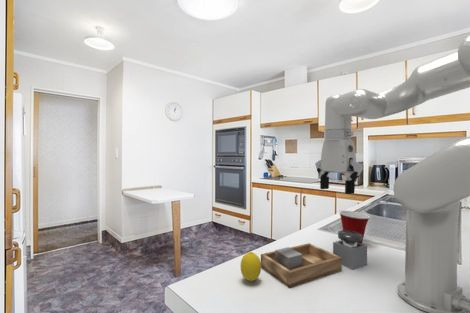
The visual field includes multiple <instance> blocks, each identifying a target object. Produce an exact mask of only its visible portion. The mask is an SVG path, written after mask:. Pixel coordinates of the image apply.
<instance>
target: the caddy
mask: <svg viewBox="0 0 470 313" xmlns="http://www.w3.org/2000/svg"><path fill="white" fill-rule="evenodd" d="M260 262H261V270H264V271H265V272H267V273H268V274H269V275H271V276H272V277H273V278H274V279H276V280H277V281H279V283H281V284H282V285H285V286H286V287H287V288H288V289H292V288H294V287H297V286H300V285H303V284H306V283H307V284H308V283H310V282H311V281H312V282H313V281H315V280H320V279H322V278H324V277H325V278H326V277H327V276H330V275H333V274H337V273H340V272H342V270H343V268H342V267H343V265H342V257H340V256H337V255H335V254H333V252H330V251H328V250H325V249H324V248H321V247H319V246H316V245H314V244H312V243H309V242H308V243H305V244H304V243H303V244H300V245H296V246H291V247H289V246H287V247H283V248H279V249H275V250H273V251H268V252H265V253H261V254H260Z"/></svg>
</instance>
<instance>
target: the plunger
mask: <svg viewBox="0 0 470 313" xmlns="http://www.w3.org/2000/svg"><path fill="white" fill-rule="evenodd" d="M337 237H338V239H339V240H343V245H345V246H348V247H350V248H354V247H357V242H361V241H362V234H360V233H358V232H355V231H349V230H343V229H342V230H338V231H337Z"/></svg>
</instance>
